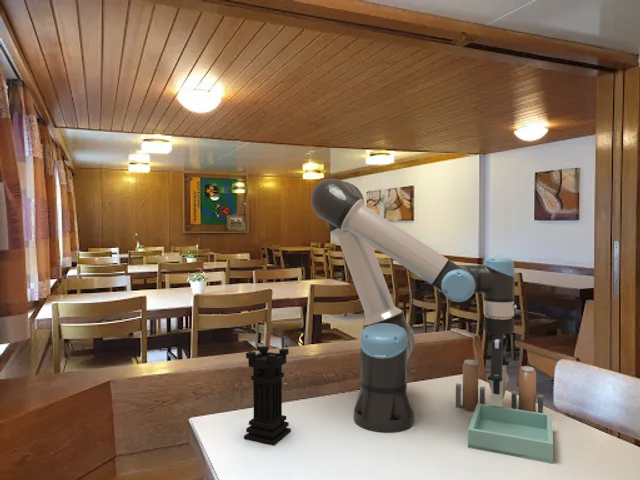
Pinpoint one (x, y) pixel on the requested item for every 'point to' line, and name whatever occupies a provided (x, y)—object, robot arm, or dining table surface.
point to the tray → (512, 432)
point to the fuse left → (470, 385)
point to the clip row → (482, 398)
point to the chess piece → (267, 397)
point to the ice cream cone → (504, 378)
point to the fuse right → (527, 389)
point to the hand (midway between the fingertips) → (498, 397)
